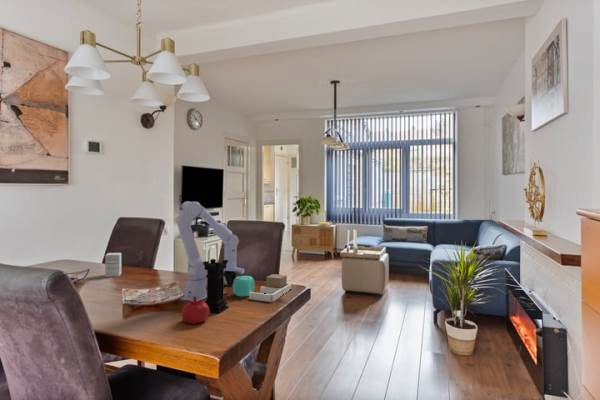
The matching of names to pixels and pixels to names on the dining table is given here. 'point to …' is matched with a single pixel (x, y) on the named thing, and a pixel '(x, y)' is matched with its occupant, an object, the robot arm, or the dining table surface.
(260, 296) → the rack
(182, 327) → the dining table surface
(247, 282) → the decorative dice
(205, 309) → the pomegranate
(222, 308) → the chess piece
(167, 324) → the dining table surface
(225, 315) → the dining table surface
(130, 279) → the dining table surface
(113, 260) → the supplement box
